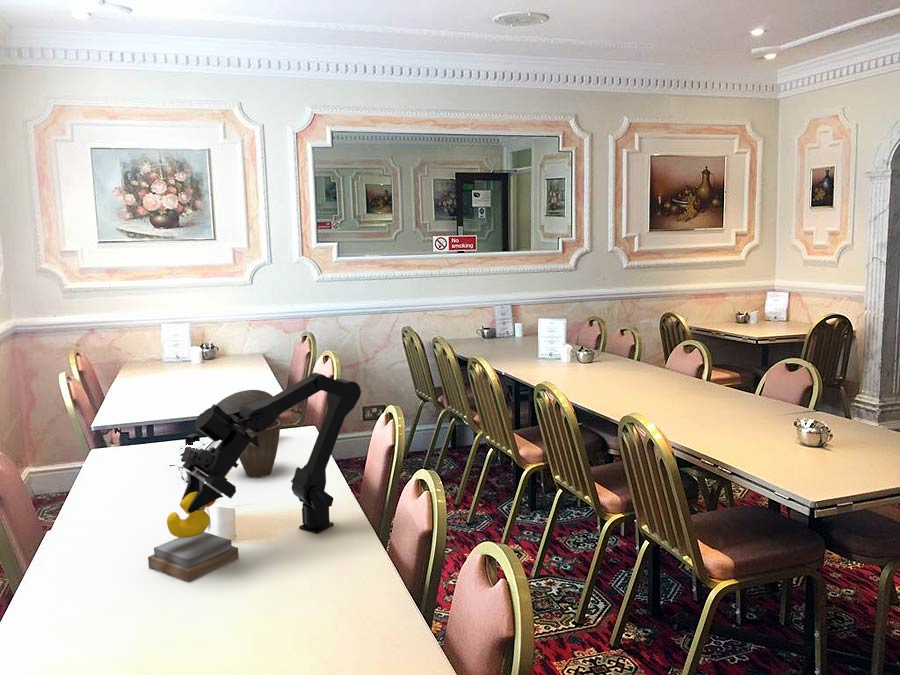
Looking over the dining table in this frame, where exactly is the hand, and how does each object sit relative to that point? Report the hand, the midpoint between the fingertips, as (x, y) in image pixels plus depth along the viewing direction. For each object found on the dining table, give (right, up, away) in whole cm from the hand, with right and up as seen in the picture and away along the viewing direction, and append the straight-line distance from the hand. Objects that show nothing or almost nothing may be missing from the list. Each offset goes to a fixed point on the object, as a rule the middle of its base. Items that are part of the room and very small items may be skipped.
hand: (185, 509), depth 172 cm
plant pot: (0, -4, +65) cm, 65 cm away
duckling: (+1, -7, +2) cm, 7 cm away
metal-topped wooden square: (+1, -13, +3) cm, 13 cm away
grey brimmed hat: (-11, 0, +94) cm, 95 cm away
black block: (-31, 0, +96) cm, 101 cm away
